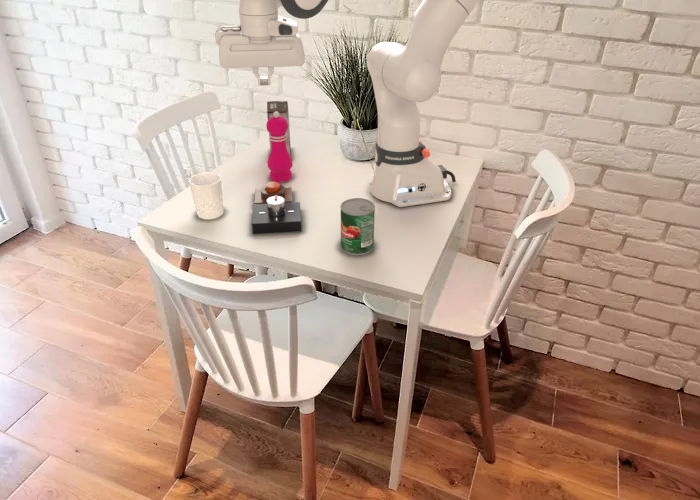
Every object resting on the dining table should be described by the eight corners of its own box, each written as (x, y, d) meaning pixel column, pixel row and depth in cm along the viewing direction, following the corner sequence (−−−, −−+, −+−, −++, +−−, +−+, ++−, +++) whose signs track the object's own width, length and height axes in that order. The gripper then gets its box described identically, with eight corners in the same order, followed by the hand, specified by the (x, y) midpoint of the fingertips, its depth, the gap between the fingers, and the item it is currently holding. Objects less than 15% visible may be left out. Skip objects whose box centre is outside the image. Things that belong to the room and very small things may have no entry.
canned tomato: (335, 250, 132) (334, 210, 126) (348, 234, 138) (348, 195, 132) (366, 258, 130) (367, 217, 124) (378, 241, 136) (380, 201, 130)
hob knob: (284, 216, 140) (283, 203, 138) (267, 216, 139) (265, 203, 137) (285, 207, 143) (284, 194, 141) (268, 208, 143) (267, 195, 141)
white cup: (215, 223, 143) (210, 188, 137) (189, 217, 145) (182, 183, 140) (231, 209, 149) (226, 174, 143) (205, 203, 151) (200, 170, 146)
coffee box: (270, 149, 181) (266, 100, 172) (290, 149, 182) (287, 100, 173) (270, 161, 174) (266, 111, 165) (291, 160, 174) (288, 110, 166)
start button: (279, 187, 153) (279, 181, 152) (279, 193, 150) (279, 187, 149) (266, 187, 153) (265, 181, 152) (266, 193, 150) (265, 187, 149)
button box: (291, 192, 157) (291, 181, 155) (292, 206, 150) (291, 195, 148) (255, 194, 156) (254, 183, 154) (254, 208, 149) (253, 196, 147)
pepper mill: (289, 184, 161) (284, 117, 150) (265, 181, 162) (259, 115, 151) (296, 173, 167) (292, 108, 156) (273, 171, 168) (267, 106, 157)
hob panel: (300, 211, 148) (299, 201, 146) (301, 231, 139) (301, 220, 138) (254, 214, 147) (253, 203, 145) (252, 234, 138) (251, 223, 137)
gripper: (212, 29, 126) (220, 90, 134) (303, 27, 128) (306, 87, 136) (215, 23, 131) (222, 82, 139) (302, 21, 133) (305, 79, 141)
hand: (264, 84), depth 137 cm, fingers closed
